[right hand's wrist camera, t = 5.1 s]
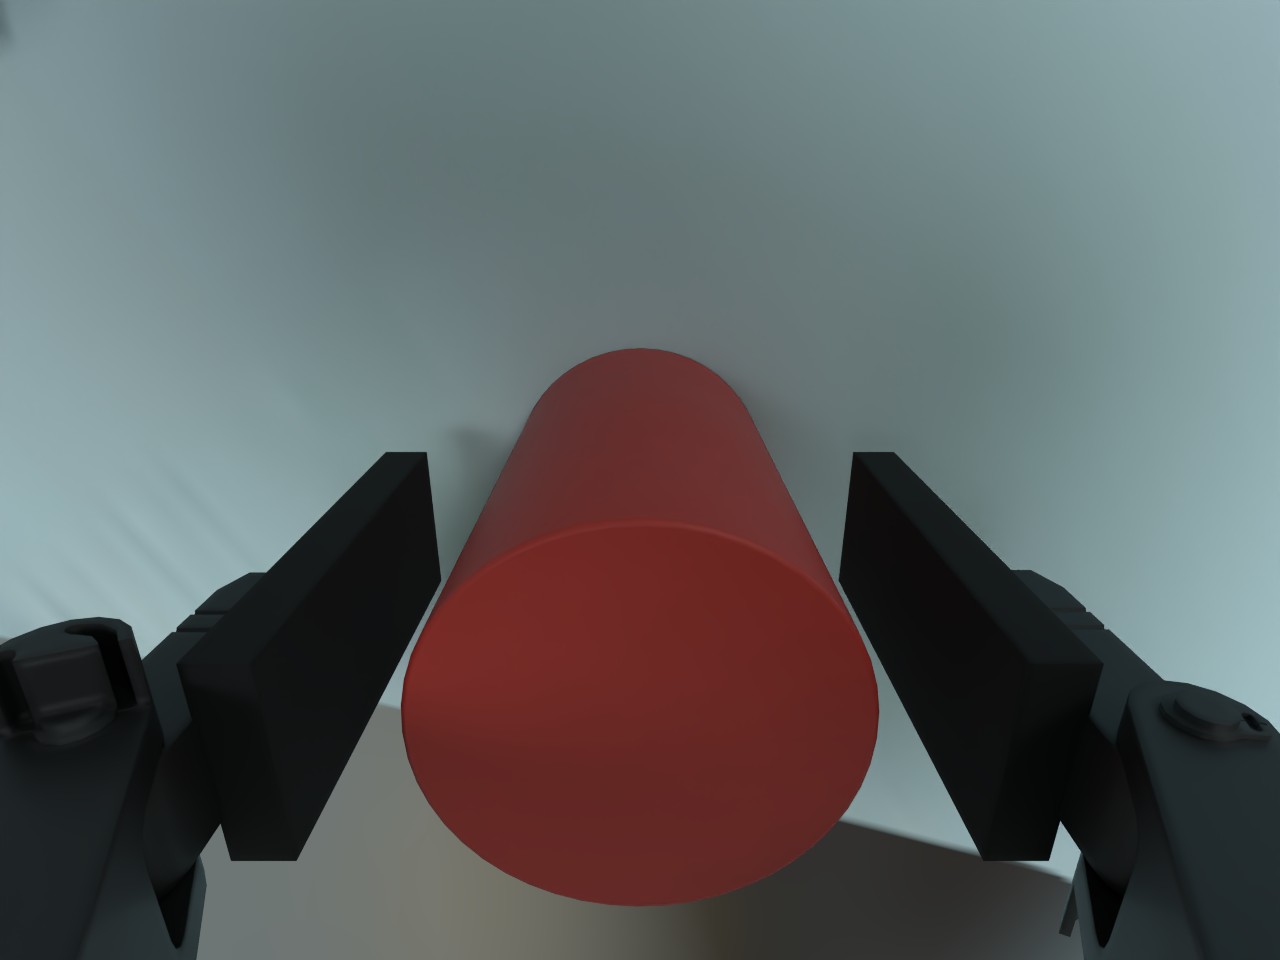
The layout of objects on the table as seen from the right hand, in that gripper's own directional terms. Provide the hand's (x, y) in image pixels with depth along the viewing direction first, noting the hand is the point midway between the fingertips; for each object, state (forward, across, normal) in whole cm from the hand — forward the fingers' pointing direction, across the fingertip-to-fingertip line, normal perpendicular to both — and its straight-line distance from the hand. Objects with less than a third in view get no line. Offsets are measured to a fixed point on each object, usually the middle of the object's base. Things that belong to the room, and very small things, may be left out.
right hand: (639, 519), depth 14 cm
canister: (+3, 0, 0) cm, 3 cm away
